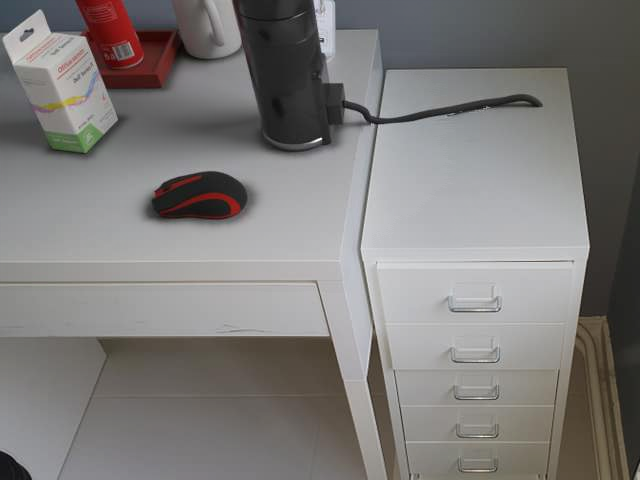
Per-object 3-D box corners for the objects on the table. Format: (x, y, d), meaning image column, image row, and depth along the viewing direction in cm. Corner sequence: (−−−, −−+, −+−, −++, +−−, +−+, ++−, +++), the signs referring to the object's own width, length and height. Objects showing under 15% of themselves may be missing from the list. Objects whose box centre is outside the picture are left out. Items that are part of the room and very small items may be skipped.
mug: (179, 39, 114) (156, -35, 106) (232, 28, 117) (214, -45, 109) (200, 75, 108) (177, -1, 99) (256, 62, 110) (239, -13, 102)
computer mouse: (161, 188, 91) (151, 161, 88) (251, 185, 91) (243, 158, 88) (151, 221, 87) (139, 194, 84) (244, 218, 87) (236, 191, 84)
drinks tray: (181, 42, 114) (177, 29, 112) (162, 87, 105) (157, 74, 104) (88, 43, 113) (83, 29, 112) (61, 88, 105) (55, 74, 103)
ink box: (87, 155, 95) (35, 44, 83) (52, 150, 95) (-4, 39, 84) (120, 118, 100) (77, 10, 89) (87, 114, 101) (39, 6, 89)
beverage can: (153, 58, 109) (117, -49, 98) (118, 76, 106) (76, -32, 94) (126, 46, 111) (87, -60, 100) (91, 65, 108) (46, -43, 96)
